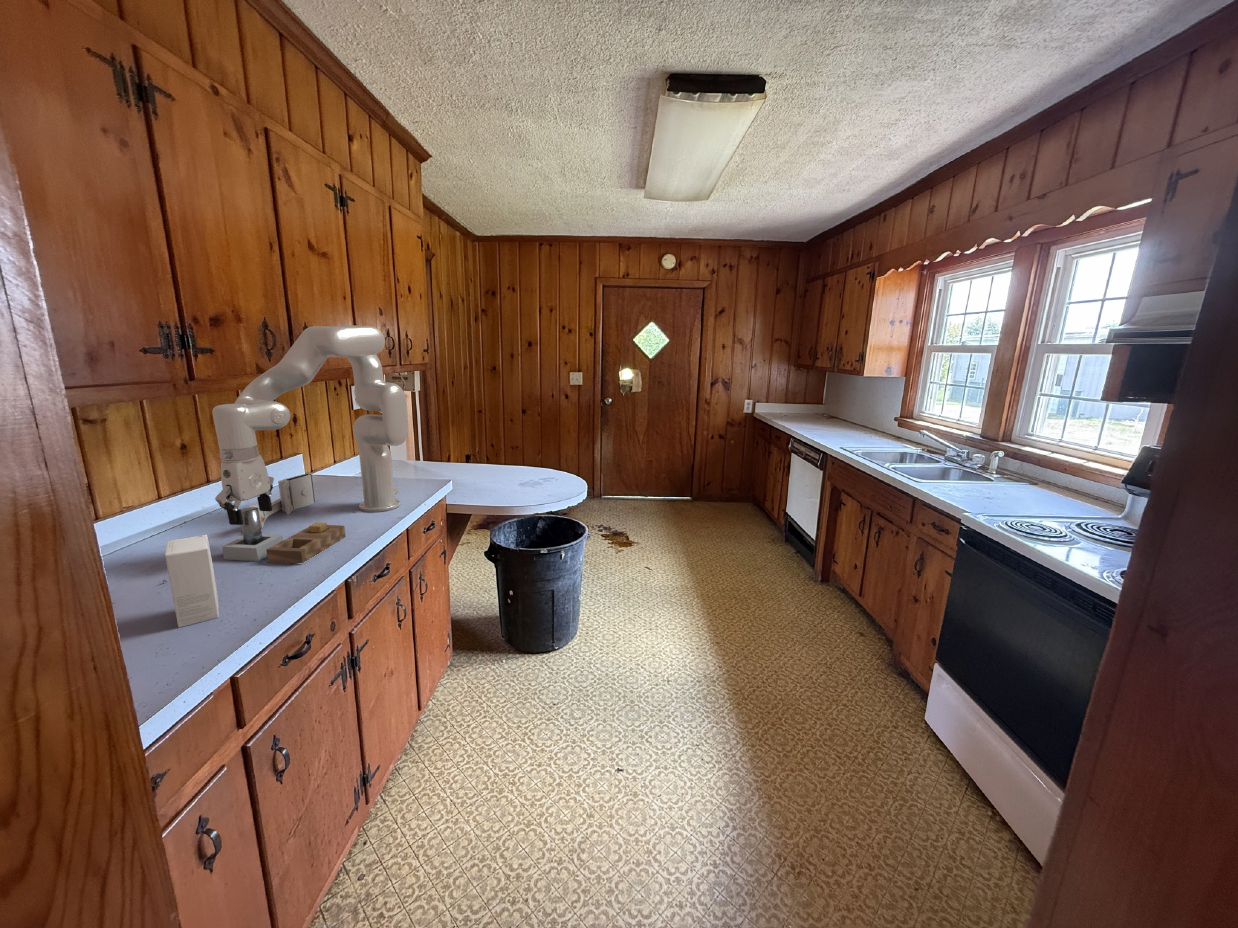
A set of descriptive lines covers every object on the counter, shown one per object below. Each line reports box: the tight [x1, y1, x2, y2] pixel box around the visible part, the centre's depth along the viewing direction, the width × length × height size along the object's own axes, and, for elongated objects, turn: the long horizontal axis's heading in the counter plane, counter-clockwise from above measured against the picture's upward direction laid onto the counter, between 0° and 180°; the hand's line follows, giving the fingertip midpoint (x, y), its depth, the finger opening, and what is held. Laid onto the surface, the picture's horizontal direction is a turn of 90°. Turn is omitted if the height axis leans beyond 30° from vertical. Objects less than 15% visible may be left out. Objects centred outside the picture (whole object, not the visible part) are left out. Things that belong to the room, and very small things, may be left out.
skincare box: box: [164, 534, 220, 628], centre depth 97 cm, size 8×7×16 cm
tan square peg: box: [308, 521, 328, 534], centre depth 134 cm, size 3×3×5 cm
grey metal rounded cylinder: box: [240, 507, 263, 545], centre depth 126 cm, size 4×4×12 cm
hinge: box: [277, 473, 316, 516], centre depth 161 cm, size 14×5×10 cm, turn 177°
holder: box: [221, 533, 284, 562], centre depth 127 cm, size 9×9×4 cm
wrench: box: [247, 497, 282, 530], centre depth 151 cm, size 8×2×30 cm
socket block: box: [266, 524, 346, 564], centre depth 130 cm, size 18×9×4 cm, turn 177°
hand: (251, 517), depth 125 cm, fingers open, 9 cm apart
